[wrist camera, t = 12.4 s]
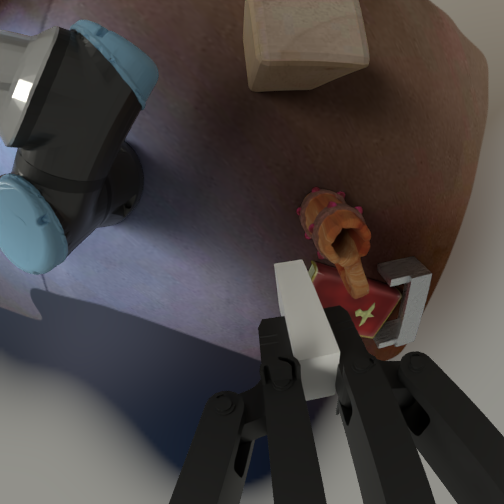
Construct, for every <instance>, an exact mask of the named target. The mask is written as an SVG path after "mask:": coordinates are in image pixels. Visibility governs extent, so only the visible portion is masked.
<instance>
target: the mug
mask: <svg viewBox="0 0 504 504" xmlns="http://www.w3.org/2000/svg"><path fill="white" fill-rule="evenodd" d="M344 198H345V193H344V192H337V193H335V192H333V191H331V190H327V189H319V187H313V189H312V192H311V193H309V194H307V196H306V197H305V198H304V200H303V202H302V204H301V206H300V207H299V208H298V209H297V211H296V212H297V214H298V215H299V219H300V223H301V225H302V227H303V229H304V231H305V238H306V239H311V238H312V239H313V242H314V245H315V247H316V248H317V250H318V252H317V254H318V258H319V259H324V258H325V259H328V260H329V261H330V262H332V263H334V264H335V266H336V268H337V270H338V272H339V275H340V277H341V279H342V281H343V283H344V286H345V288H346V289H347V291H348V293H349V294H350V295H351V296H352V297H353V298H354V299H357V298H360V297H363V296H365V295H367V294H369V284H368V281H367V278H366V276H365V273H364V271H363V268H362V264H361V259H360V258H361V257H362V256H365V255H367V253H368V251H369V249H370V242H369V241H370V239H371V232H370V230H369V229H368V227H367V225H366V223H365V220H364V218H363V216H362V214H363V209H362V207H360V206H357V207H355V208H353V207H351V206H350V205H347V204H346V202H345V200H344Z"/></svg>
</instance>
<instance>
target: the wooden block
mask: <svg viewBox="0 0 504 504" xmlns="http://www.w3.org/2000/svg"><path fill="white" fill-rule="evenodd" d="M243 44H244V52H245V61H246V69H247V78H248V87H249V88H250V90H251V91H254V92H265V91H284V90H312V89H314V88H316V87H319V86H321V85H323V84H325V83H328V82H330V81H332V80H335V79H337V78H340V77H342V76H345V75H347V74H350V73H352V72H355V71H358V70H360V69H363V68H366V67H367V66H368V65H369V60H370V57H369V50H368V44H367V38H366V33H365V28H364V23H363V18H362V13H361V9H360V4H359V0H245V9H244V28H243Z"/></svg>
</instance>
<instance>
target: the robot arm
mask: <svg viewBox="0 0 504 504" xmlns="http://www.w3.org/2000/svg"><path fill="white" fill-rule="evenodd" d="M158 76H159V75H158V69H157V67H156V64H155V63H154V62H153V61H152V59H151V58H150V57H149V56H147V55H146V54H145V53H144V52H143V51H142V50H140V49H139V48H138V47H136V46H135V45H134V44H132V43H131V42H129V41H128V40H126V39H125V38H123V37H122V36H120V35H118V34H117V33H115V32H113V31H108V30H107V29H106V28H104V27H102V26H101V25H99V24H97V23H95V22H92V21H89V20H79V21H77V22H76V23H75V24H74V25H72V26H71V28H70V31H69V30H66V29H63V28H61V27H57V26H54V27H52V28H50V29H48V30H46V31H44V32H42V33H40V34H38V35H35V36H27V35H23V34H19V33H14V32H10V31H5V30H0V136H1V138H2V140H3V142H4V144H5V146H7V147H17V148H18V149H17V153H16V157H15V160H14V164H13V168H12V172H11V173H9V174H6V175H3V176H2V177H1V178H0V249H1V250H2V252H3V253H4V254H5V256H6V257H7V258H8V259H9V260H10V261H11V262H12V263H13V264H14V265H15V266H17V267H18V268H19V269H21V270H23V271H25V272H27V273H30V274H36V275H38V274H45V273H47V272H49V271H51V270H52V269H53V268H55V267H56V266H57V265H59V264H61V263H62V262H63V261H64V260H65V259H66V257H67V256H68V255H69V254H70V253H71V252H72V251H73V250H74V249H75V248H76V247H77V246H78V245H79V244H80V243H81V242H82V241H83V240H85V239H86V238H87V237H88V236H89V235H90V234H91V233H92V232H93V231H94V230H95V229H96V228H100V227H107V226H111V225H114V224H116V223H118V222H120V221H122V220H123V219H124V218H126V217H127V216H128V215H129V214H130V213H131V212H132V211H133V210H134V208H135V207H136V206H137V204H138V202H139V200H140V197H141V194H142V190H143V171H142V166H141V163H140V161H139V159H138V157H137V155H136V153H135V152H134V150H133V149H132V148H131V147H130V146H129V145H128V144H127V143H125V142H124V140H125V138H126V136H127V134H128V132H129V130H130V129H131V127H132V125H133V123H134V121H135V119H136V118H137V116H138V114H139V112H140V111H141V110H143V109H144V108H145V105H146V104H145V102H146V100H147V99H148V97H149V95H150V93H151V91H152V90H153V88H154V86H155V85H156V83H157V80H158ZM274 268H275V276H276V284H277V292H278V301H279V307H280V312H281V317H275V318H268V319H262V321H261V323H260V325H259V327H258V331H259V341H260V352H261V362H262V364H261V366H260V375H261V380H260V381H259V383H258V384H257V385H256V386H255V387H253V388H252V389H250V390H248V391H245V392H243V393H240V394H237V393H235V392H231V391H221V392H218V393H216V394H214V395H213V396H212V397H210V398H209V400H208V401H207V403H206V405H205V408H204V410H203V413H202V416H201V419H200V421H199V424H198V427H197V430H196V432H195V435H194V438H193V440H192V443H191V446H190V449H189V451H188V454H187V457H186V459H185V462H184V465H183V468H182V470H181V473H180V475H179V478H178V481H177V484H176V486H175V489H174V491H173V494H172V497H171V499H170V502H169V504H239V503H240V499H241V495H242V491H243V487H244V483H245V479H246V475H247V471H248V467H249V463H250V459H251V454H252V450H253V446H254V442H255V439H257V438H260V437H262V436H264V435H267V436H268V446H269V456H270V467H271V477H272V487H273V497H274V504H327V503H326V498H325V493H324V487H323V482H322V477H321V472H320V467H319V462H318V457H317V452H316V447H315V442H314V437H313V433H312V428H311V423H310V419H309V414H308V409H307V404H306V401H307V400H312V399H317V398H322V397H327V396H331V395H335V390H336V391H337V394H338V403H337V408H336V415H338V414H339V411H340V415H341V418H342V422H343V426H344V429H345V433H346V436H347V440H348V444H349V447H350V451H351V455H352V459H353V463H354V466H355V470H356V474H357V478H358V482H359V486H360V490H361V495H362V499H363V503H364V504H435V500H434V497H433V494H432V491H431V488H430V485H429V482H428V479H427V476H426V473H425V471H424V468H423V465H422V462H421V459H420V457H419V454H418V451H419V452H420V453H421V455H422V456H423V457H424V459H425V460H426V461H427V463H428V464H429V465H430V467H431V468H432V469H433V471H434V472H435V473H436V475H437V476H438V477H439V479H440V480H441V482H442V483H443V484H444V486H445V487H446V488H447V490H448V491H449V492H450V494H451V495H452V497H453V498H454V499H455V501H456V502H457V503H458V504H504V437H503V435H502V434H501V433H500V432H499V431H498V430H497V428H496V427H495V426H494V425H493V424H492V423H491V422H490V421H489V419H488V418H487V417H486V416H485V415H484V414H483V413H482V412H481V411H480V409H479V408H478V407H477V406H476V405H475V404H474V403H473V402H472V401H471V400H470V399H469V398H468V396H467V395H466V394H465V393H464V392H463V391H462V390H461V389H460V388H459V387H458V386H457V385H456V384H455V383H454V382H453V381H452V380H451V379H450V378H449V377H448V376H447V375H446V374H445V373H444V372H443V371H442V369H441V368H440V367H438V365H437V364H436V363H435V362H434V361H433V360H432V359H431V358H430V357H429V356H427V355H426V354H424V353H421V352H410V353H407V354H405V356H403V357H402V359H401V361H381V360H378V359H376V357H375V356H373V355H371V354H369V353H368V351H367V350H366V348H365V345H364V343H363V341H362V339H361V337H360V335H359V333H358V331H357V329H356V327H355V325H354V323H353V321H352V319H351V317H350V315H349V313H348V311H347V310H345V309H344V308H343V307H341V306H340V305H338V306H333V307H328V308H323V307H322V305H321V302H320V300H319V298H318V295H317V293H316V290H315V288H314V286H313V283H312V281H311V278H310V276H309V274H308V271H307V269H306V267H305V265H304V262H303V260H296V261H289V262H283V263H276V264H274ZM416 448H417V449H418V451H417V449H416Z"/></svg>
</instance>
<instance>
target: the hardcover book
mask: <svg viewBox="0 0 504 504" xmlns="http://www.w3.org/2000/svg"><path fill="white" fill-rule="evenodd" d="M311 263H312V265H311V267H310V269H309V271H308V274H309V276H310V278H311V281H312V283H313V286H314V288H315V290H316V293H317V295H318V298H319V300H320V302H321V305H322V307H323V308H328V307H333V306H338V305H340V306H341V307H343V308H344V309H345V310H347V311H348V313H349V315H350V317H351V319H352V321H353V323H354V325H355V327H356V329H357V331H358V333H359V335H360V336H361V337H367V338H374V337H375V335H376V334H377V333H378V331H379V330H380V328H381V327H382V326H383V324H384V323H385V321H386V320H387V319H388V317H389V316H390V314H391V313H392V311H393V310H394V308H395V307H396V305H397V304H398V302H399V301H400V299H401V298H402V295H401V293H400V291H399V290H398V289H397V288H396V287H394V286H391V287H390V286H389V285H388V284H385V283H382V282H379V281H375V280H372V279H369V278H367V281H368V284H369V294H367V295H365V296H363V297H360V298H357V299H354V298H353V297H352V296H351V295H350V294H349V293H348V291H347V289H346V288H345V286H344V283H343V281H342V279H341V277H340V275H339V272H338V270H337V268H334V267H331V266H328V265H325V264H322V263H319V262H315V261H311Z"/></svg>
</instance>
